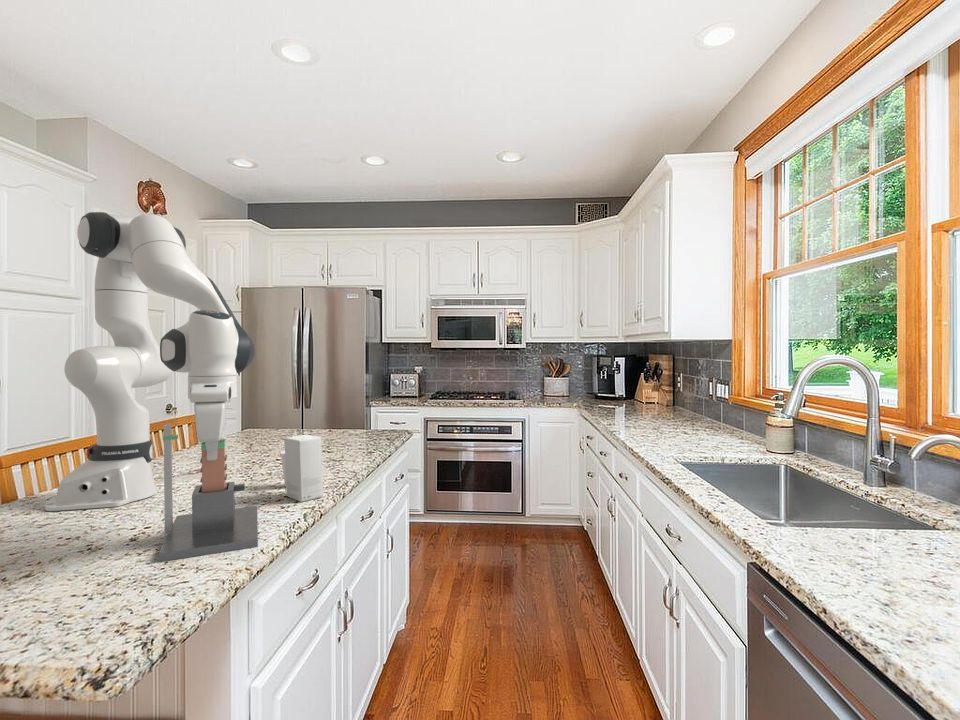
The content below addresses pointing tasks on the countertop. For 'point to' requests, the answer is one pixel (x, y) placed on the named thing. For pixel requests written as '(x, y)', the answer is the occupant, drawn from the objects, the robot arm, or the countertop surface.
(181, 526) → the stand
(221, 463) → the column
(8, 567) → the countertop surface
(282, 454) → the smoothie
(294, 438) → the skincare box
